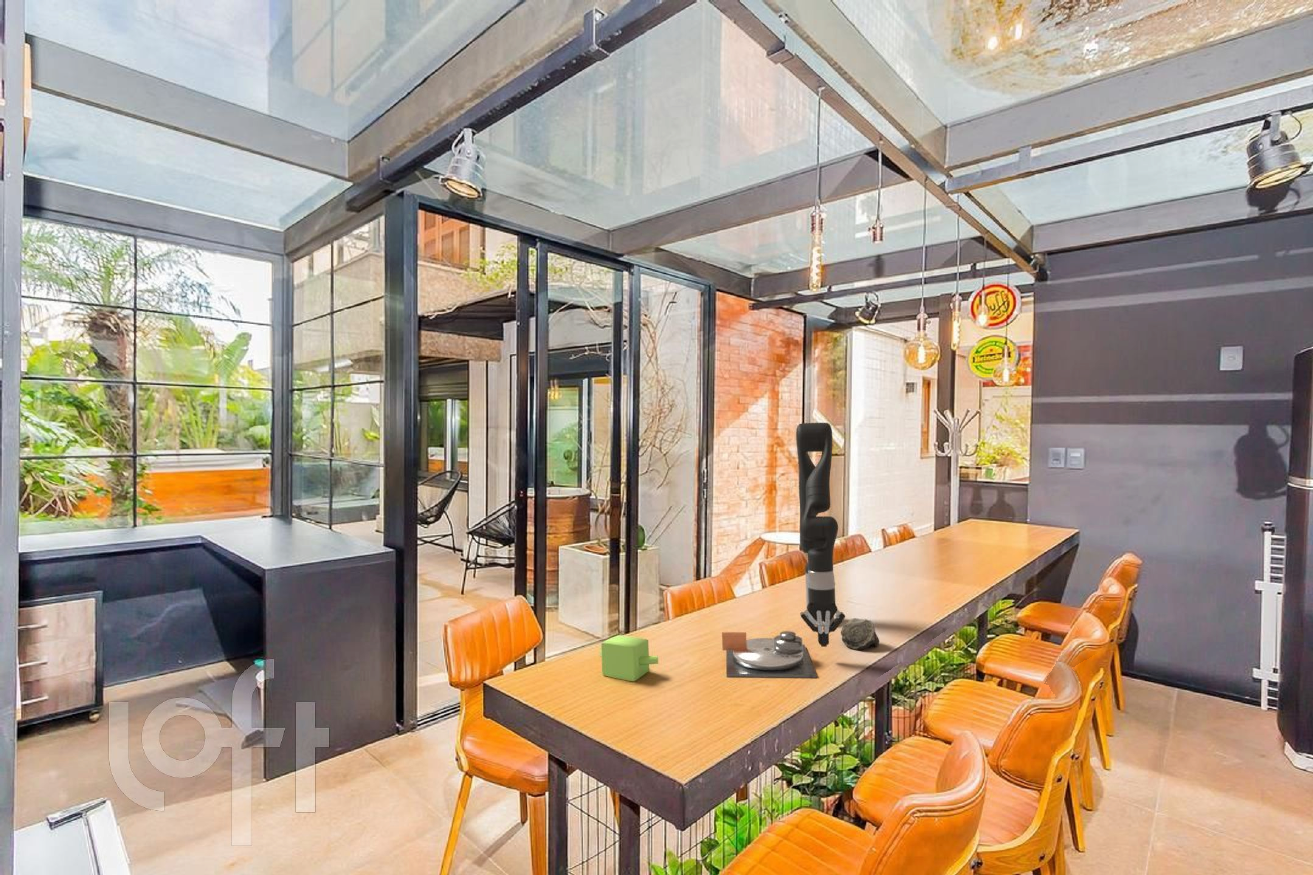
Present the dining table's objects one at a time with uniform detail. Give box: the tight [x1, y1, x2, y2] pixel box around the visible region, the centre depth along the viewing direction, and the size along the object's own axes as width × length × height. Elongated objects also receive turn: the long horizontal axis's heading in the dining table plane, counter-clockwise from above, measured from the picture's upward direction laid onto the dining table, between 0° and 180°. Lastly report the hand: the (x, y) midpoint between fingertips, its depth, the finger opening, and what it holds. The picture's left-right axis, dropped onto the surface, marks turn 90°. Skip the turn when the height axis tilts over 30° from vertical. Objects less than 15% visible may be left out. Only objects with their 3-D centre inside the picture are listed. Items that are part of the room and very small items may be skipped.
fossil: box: [840, 617, 880, 651], centre depth 182 cm, size 11×9×10 cm
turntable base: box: [725, 644, 817, 679], centre depth 171 cm, size 24×24×1 cm
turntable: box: [721, 631, 803, 670], centre depth 171 cm, size 20×23×7 cm
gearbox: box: [599, 634, 659, 682], centre depth 166 cm, size 18×10×10 cm, turn 59°
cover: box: [774, 630, 803, 654], centre depth 170 cm, size 8×8×5 cm
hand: (823, 645), depth 169 cm, fingers closed
